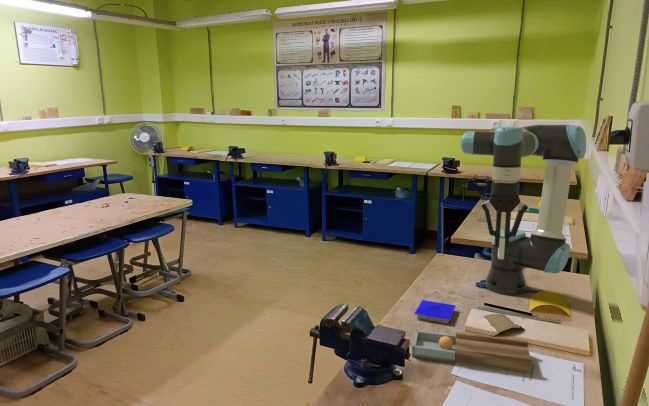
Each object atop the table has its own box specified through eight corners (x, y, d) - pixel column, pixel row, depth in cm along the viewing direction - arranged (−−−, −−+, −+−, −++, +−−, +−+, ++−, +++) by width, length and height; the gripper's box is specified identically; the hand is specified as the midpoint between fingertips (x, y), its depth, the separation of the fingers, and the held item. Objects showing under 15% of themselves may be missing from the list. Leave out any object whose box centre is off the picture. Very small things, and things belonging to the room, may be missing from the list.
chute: (455, 344, 135) (456, 332, 134) (526, 354, 129) (527, 341, 128) (454, 362, 126) (455, 349, 125) (531, 373, 120) (532, 359, 119)
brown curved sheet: (507, 317, 153) (508, 310, 152) (529, 331, 143) (530, 323, 143) (472, 324, 148) (472, 317, 148) (492, 339, 139) (492, 331, 138)
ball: (455, 340, 132) (446, 347, 133) (446, 331, 132) (436, 338, 134) (455, 348, 128) (445, 355, 130) (445, 338, 128) (435, 346, 130)
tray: (415, 339, 139) (415, 330, 138) (455, 344, 135) (455, 335, 134) (412, 356, 129) (412, 346, 129) (454, 362, 126) (455, 352, 125)
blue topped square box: (414, 319, 152) (414, 305, 151) (422, 305, 163) (422, 292, 162) (449, 326, 147) (450, 311, 146) (455, 311, 158) (456, 297, 157)
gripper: (482, 182, 127) (478, 260, 132) (531, 183, 123) (525, 263, 128) (481, 178, 134) (477, 252, 139) (528, 179, 130) (522, 255, 135)
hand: (500, 257), depth 133 cm, fingers closed
